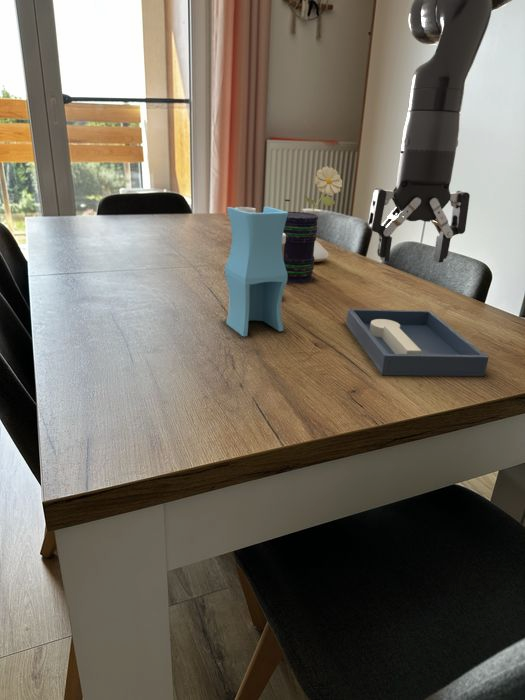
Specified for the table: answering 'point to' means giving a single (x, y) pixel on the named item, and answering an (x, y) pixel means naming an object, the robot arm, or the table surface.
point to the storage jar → (299, 246)
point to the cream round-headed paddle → (393, 336)
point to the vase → (256, 268)
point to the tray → (418, 345)
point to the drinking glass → (246, 209)
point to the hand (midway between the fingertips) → (411, 261)
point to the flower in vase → (324, 201)
